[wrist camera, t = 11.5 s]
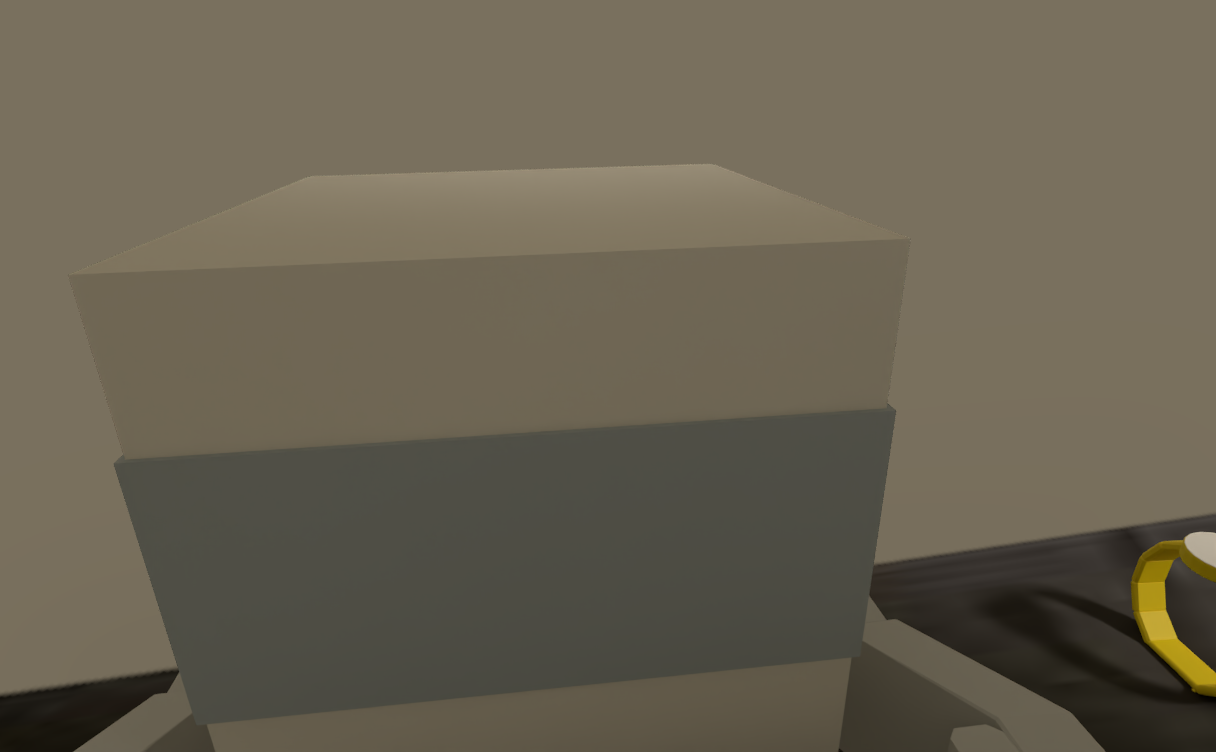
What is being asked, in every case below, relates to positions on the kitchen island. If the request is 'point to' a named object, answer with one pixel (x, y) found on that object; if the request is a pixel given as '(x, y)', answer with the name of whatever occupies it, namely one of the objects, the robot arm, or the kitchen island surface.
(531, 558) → the carton
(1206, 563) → the watch
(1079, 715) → the kitchen island surface
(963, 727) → the robot arm
